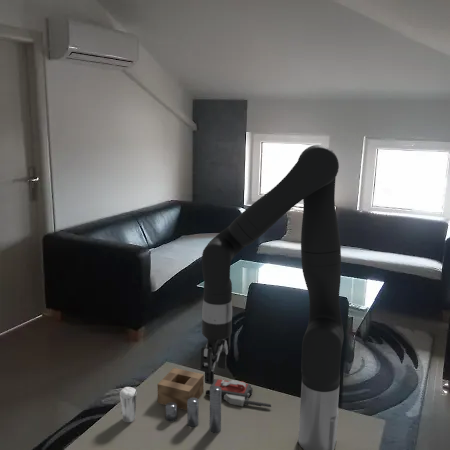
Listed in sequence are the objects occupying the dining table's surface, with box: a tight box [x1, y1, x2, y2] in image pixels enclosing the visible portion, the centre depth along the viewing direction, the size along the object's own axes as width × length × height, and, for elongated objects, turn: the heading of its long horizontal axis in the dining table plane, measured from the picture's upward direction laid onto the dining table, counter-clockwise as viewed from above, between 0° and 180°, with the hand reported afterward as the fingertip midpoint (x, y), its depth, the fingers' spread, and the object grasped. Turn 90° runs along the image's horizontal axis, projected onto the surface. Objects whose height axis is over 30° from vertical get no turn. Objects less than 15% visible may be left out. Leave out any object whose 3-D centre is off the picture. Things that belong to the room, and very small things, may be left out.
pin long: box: [209, 386, 222, 434], centre depth 128 cm, size 3×3×12 cm
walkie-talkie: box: [205, 378, 272, 408], centre depth 144 cm, size 9×4×20 cm
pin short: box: [165, 402, 178, 423], centre depth 133 cm, size 3×3×4 cm
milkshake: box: [119, 386, 138, 424], centre depth 132 cm, size 5×5×10 cm
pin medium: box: [186, 398, 199, 428], centre depth 131 cm, size 3×3×7 cm
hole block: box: [157, 367, 205, 411], centre depth 143 cm, size 10×10×6 cm
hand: (215, 375), depth 126 cm, fingers open, 8 cm apart
